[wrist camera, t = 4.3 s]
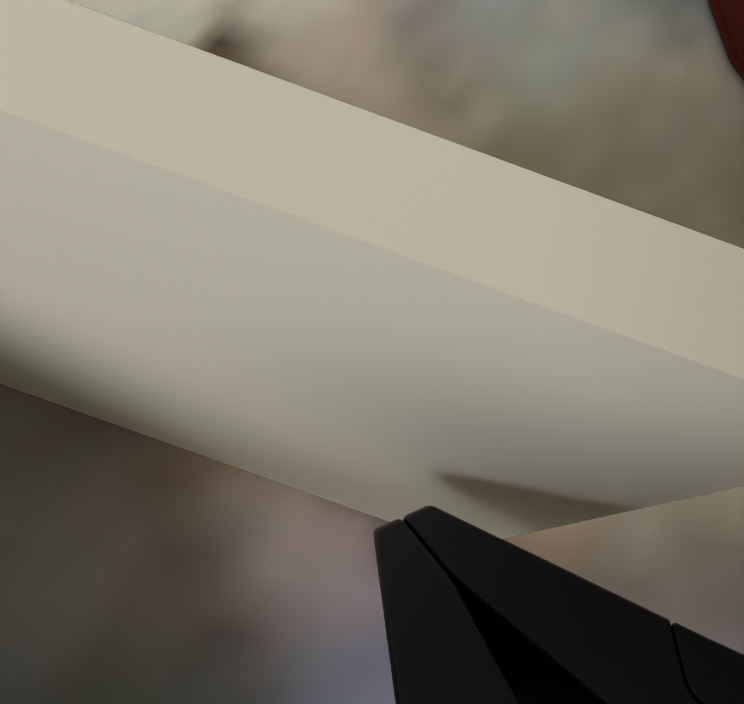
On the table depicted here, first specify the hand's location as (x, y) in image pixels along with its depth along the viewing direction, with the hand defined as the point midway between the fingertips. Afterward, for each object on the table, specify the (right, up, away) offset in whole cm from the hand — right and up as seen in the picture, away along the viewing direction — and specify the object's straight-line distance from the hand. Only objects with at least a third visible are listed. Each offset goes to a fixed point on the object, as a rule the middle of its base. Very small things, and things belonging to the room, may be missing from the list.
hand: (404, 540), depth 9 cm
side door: (-6, +2, +7) cm, 10 cm away
